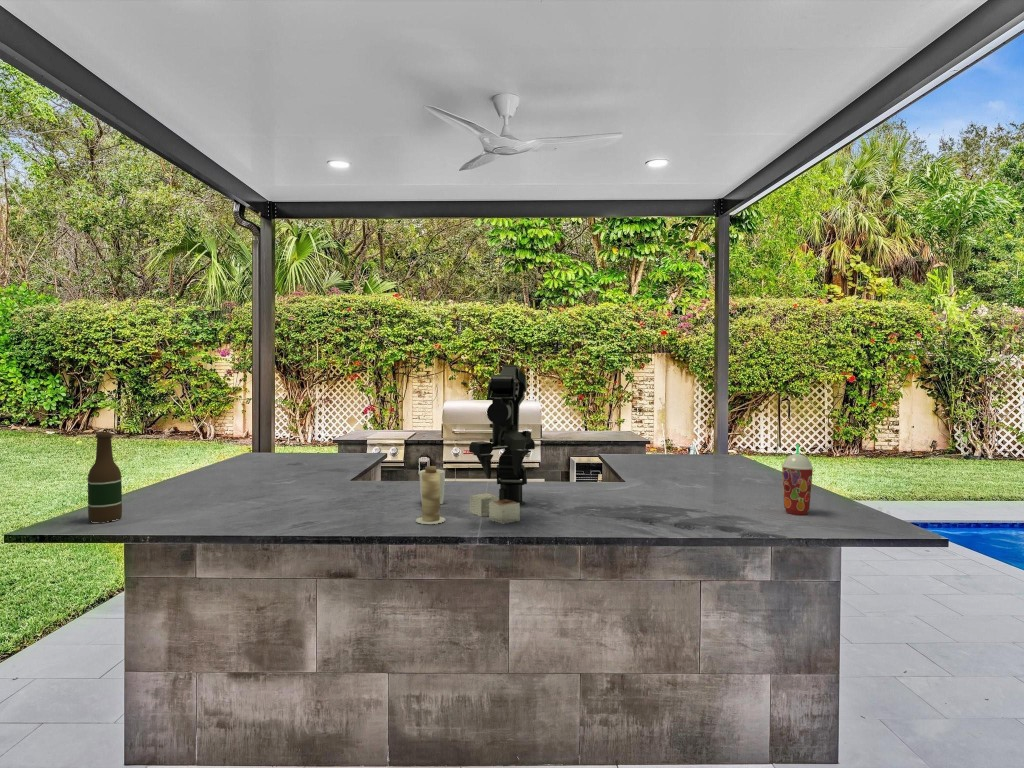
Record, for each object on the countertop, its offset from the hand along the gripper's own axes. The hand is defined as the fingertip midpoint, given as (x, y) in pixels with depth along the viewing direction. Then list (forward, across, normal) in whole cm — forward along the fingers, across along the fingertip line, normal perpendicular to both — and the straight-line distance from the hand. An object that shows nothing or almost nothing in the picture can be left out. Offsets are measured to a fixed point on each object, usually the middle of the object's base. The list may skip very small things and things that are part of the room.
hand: (502, 476), depth 172 cm
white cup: (+12, -6, +29) cm, 32 cm away
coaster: (+12, -17, +10) cm, 23 cm away
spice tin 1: (+12, 0, +9) cm, 15 cm away
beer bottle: (+12, -89, +63) cm, 109 cm away
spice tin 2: (+12, 0, -1) cm, 12 cm away
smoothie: (+12, +75, -43) cm, 87 cm away
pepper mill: (+12, -17, +10) cm, 23 cm away
